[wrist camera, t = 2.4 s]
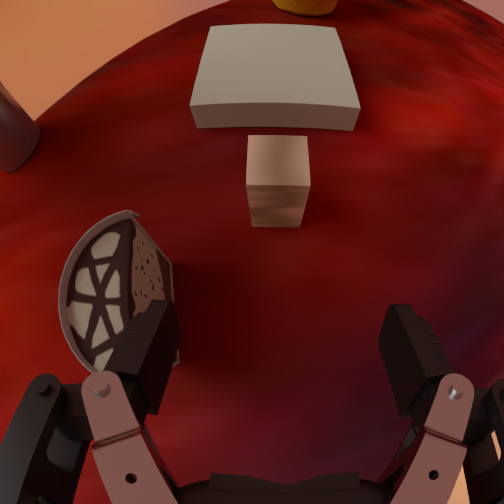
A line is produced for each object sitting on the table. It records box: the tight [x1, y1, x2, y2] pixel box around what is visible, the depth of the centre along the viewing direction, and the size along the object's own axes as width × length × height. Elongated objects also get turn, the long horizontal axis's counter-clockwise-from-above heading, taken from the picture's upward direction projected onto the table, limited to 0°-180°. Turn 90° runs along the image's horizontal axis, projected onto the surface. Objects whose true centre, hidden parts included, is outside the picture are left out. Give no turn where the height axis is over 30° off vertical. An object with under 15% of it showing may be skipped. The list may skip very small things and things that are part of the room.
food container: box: [58, 210, 180, 373], centre depth 21 cm, size 12×6×10 cm, turn 7°
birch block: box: [246, 135, 311, 227], centre depth 25 cm, size 4×4×8 cm
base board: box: [190, 24, 361, 131], centre depth 32 cm, size 18×18×4 cm
